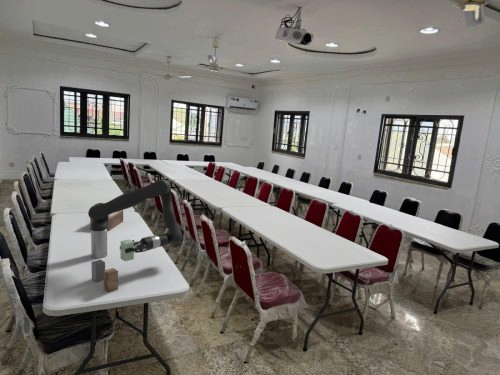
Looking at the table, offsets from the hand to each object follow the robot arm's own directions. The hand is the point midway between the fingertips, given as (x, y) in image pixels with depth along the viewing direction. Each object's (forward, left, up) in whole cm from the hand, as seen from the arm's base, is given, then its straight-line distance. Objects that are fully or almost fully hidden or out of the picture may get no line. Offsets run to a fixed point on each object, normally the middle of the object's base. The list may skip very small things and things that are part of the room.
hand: (122, 249), depth 184 cm
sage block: (0, +3, -6) cm, 7 cm away
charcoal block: (-7, -10, -17) cm, 21 cm away
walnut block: (+7, -10, -17) cm, 21 cm away
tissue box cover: (-92, +37, -17) cm, 101 cm away
